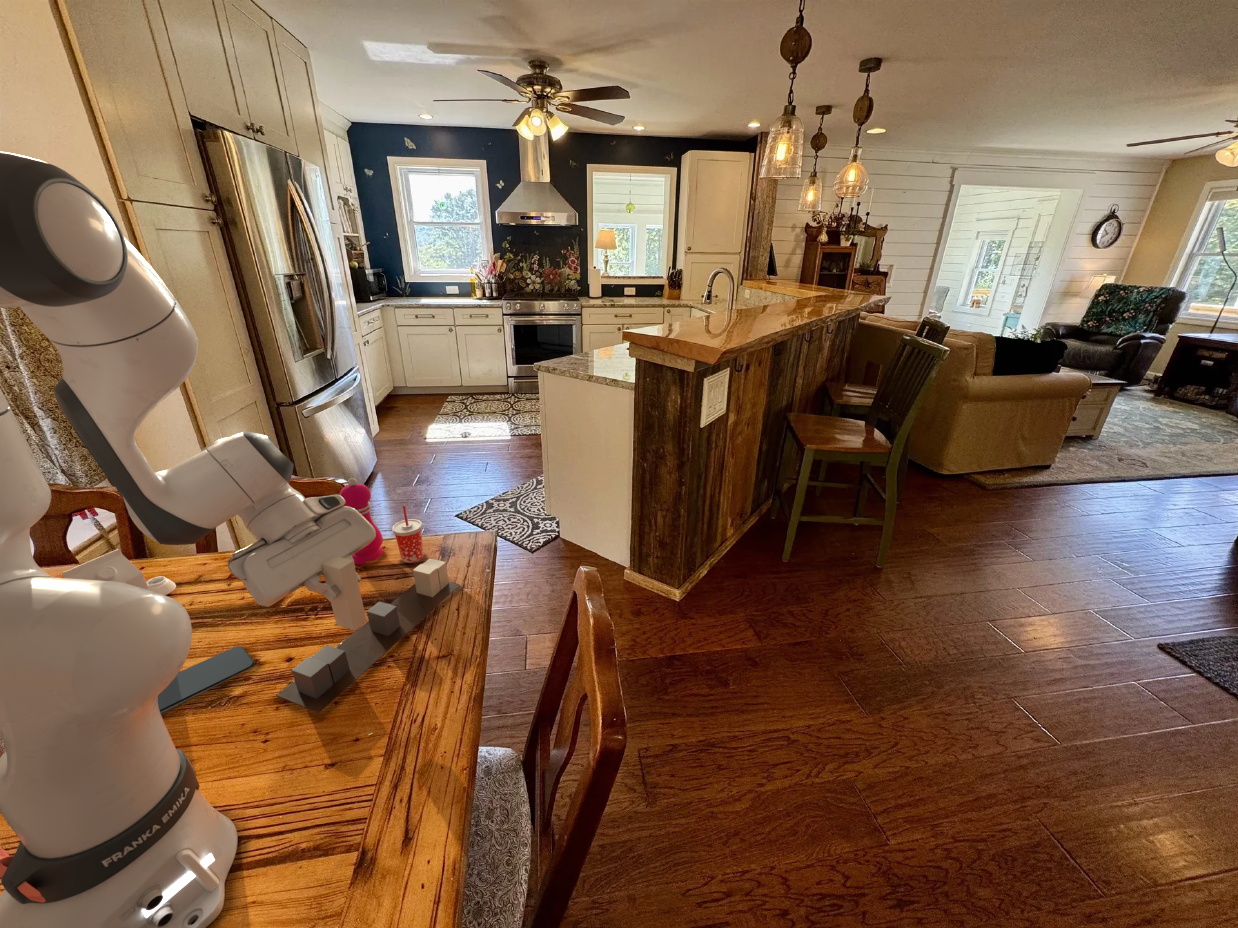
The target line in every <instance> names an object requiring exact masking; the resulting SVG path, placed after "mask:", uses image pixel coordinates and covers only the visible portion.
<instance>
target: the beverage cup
mask: <svg viewBox="0 0 1238 928" xmlns="http://www.w3.org/2000/svg"><path fill="white" fill-rule="evenodd" d="M406 509H407V508H406V505H405V504H403V505H402V511H403V514H404V515H403V517H404V519H403V520H400V521H397V522H396V523H395V524H393V525H392V527H391V530H392V533H393V535H394V536H395V539H396V543H397V547H398V551H399V555H400V559H401V561H402V562H404V563H415V562H418V561H420V560H422V559H423V558H424V555H425V554H424V553H425V552H424V542H423V531H422V529H423V523H422V521H421V520H419V519H416V518H409V519H408V515H407V510H406Z"/></svg>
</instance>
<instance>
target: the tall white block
mask: <svg viewBox="0 0 1238 928" xmlns="http://www.w3.org/2000/svg"><path fill="white" fill-rule="evenodd" d="M321 565H322V566H323V567H324V569H323V573H322V574H323V577H324V581H325V585H328V586H330V587H331V586H333V585H334V584H335V585H336V586H337V587H338V589H340V591H341V594H340V595H339V596H338V597H337V598H335V599H334V600H333V601H330V605H331V609H332V613H333V617H334V621H335V625H336V626H339V627H342V628H345V629H348V630H351V631H354V632H355V631H357V630H358V629H359V628H360V627H362V626H363V625H364V624H365V623H367V622H368V621H367V617H366V611H365V607H364V604H363V603H364V602H363V599H362V594H361V590H360V585H359V583H358V580H357V575H356V573H357V571H356V565H355V563H354V562H353V561H352V560H348V559H345V558H341V557H337V556H333V557H331V558H330V559H328V560H327V561H325V562H323V563H322V564H321ZM354 565H355V566H354Z"/></svg>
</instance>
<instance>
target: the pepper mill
mask: <svg viewBox="0 0 1238 928" xmlns="http://www.w3.org/2000/svg"><path fill="white" fill-rule="evenodd" d="M339 495H341V496H342V497H343V498H344V500H345V504H344V506H348V507H352V508H354V509H355V510H357V511H358V512H359V513H360V514H361V515H362V516H363V517H364V518H365V519H366V520H367V521H368V522H369V523H370V524H371V525H372V526H373V527H374V529H375V532H376V537H375V538H374V540H373V541H372V542H371V543H370V544H369V545H367V546H366V547H364V548H363V549H361V550H359V551H358V552H356V553H355V554H353V555H351V557H352V558H353V559H354V565H357V566H362V565H364V564H365V563H368V562H372V561H375V560H377V559H379V558H380V557H381V556H382V555H383V554H384V549H383V546H382V545H383V542H384V538H383V534H382V533H381V531H380V529H379V528H378V526H377V525H376V524H375V523H374V521H373V519H372V516H371V510H372V507H371V502H370V500H371V498H372V493H371V490H370V488H369V486H367V485H365V484H363V483H358V479H356V478H355V477H350V478H349V479H348V480H347V485H345V486H344V487H343V488H342V489H341V490H340V492H339ZM344 506H343V507H344Z"/></svg>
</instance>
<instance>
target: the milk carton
mask: <svg viewBox="0 0 1238 928" xmlns="http://www.w3.org/2000/svg"><path fill="white" fill-rule="evenodd" d="M62 575H63V578H67V579H83V580H98V581H114V582H121V583H126V584H130V585H133V586H137V587H140V588H144V589H147V590H149V588H148V585H147V583H146V582H147V580H146V578H145V576H144V574H143V572H142V571H141V570H140V569H139V568H138V567H137V566H136V565H135V564H133V563H132V562H131V561H130V560H129V559H128V558H127V556H125V555H124V554H123V553H122V551H121V549H120V548H117V549H114V550H113V551H110V552H107V553H105V554H103V555H100V556H98V557H95V558H93V559H90V560H88V561H86V562H84V563H80V564H79V565H77V566H74V567H72V568H69V569H67V570H65V571H62Z"/></svg>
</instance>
